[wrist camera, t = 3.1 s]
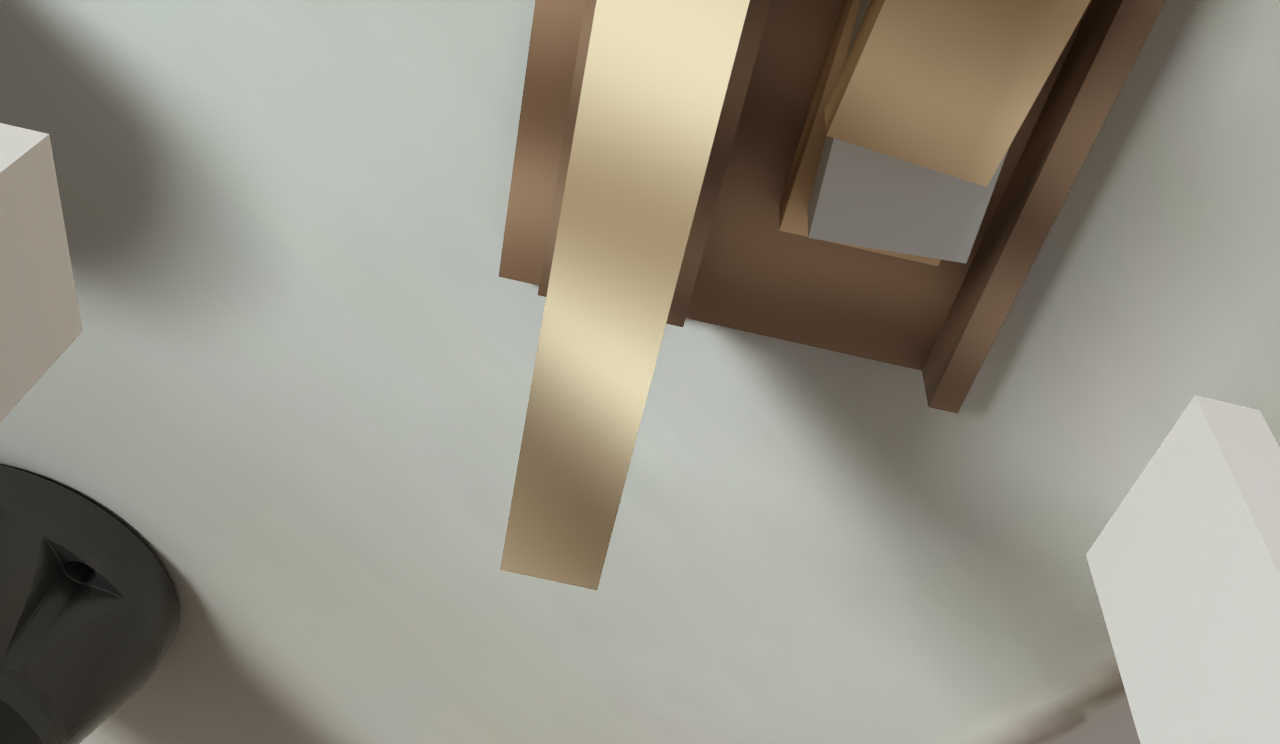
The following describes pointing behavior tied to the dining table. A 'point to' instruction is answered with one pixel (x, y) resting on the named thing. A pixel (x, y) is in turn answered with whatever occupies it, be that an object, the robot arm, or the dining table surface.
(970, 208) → the offcut middle
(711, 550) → the dining table surface
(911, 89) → the offcut top
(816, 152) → the offcut bottom
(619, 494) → the sheet
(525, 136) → the rack
